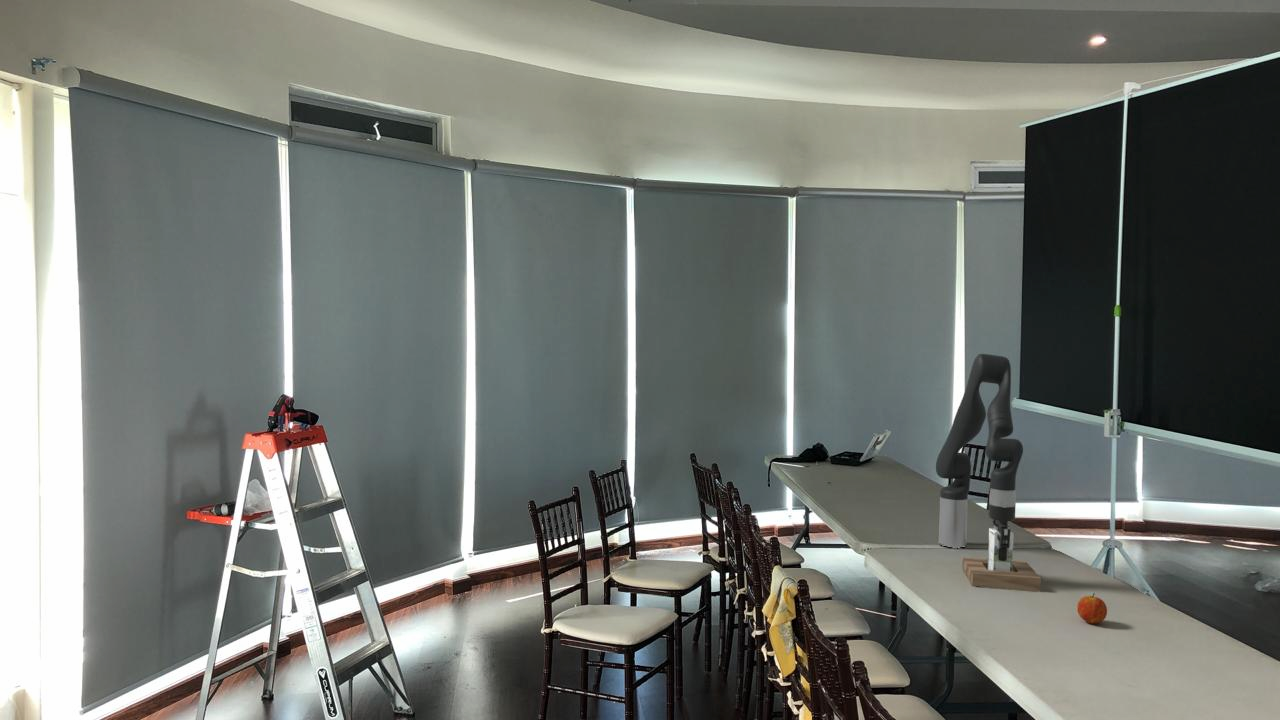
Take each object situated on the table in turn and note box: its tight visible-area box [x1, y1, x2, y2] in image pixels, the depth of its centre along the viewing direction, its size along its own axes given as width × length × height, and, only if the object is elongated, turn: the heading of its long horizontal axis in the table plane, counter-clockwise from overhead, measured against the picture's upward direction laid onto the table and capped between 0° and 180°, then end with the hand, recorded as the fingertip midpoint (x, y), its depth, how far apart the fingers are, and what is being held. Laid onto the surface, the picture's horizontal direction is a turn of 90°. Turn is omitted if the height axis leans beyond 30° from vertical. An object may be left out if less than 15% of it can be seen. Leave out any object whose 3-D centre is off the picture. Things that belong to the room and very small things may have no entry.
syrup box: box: [987, 527, 1015, 572], centre depth 269 cm, size 6×6×14 cm
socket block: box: [961, 557, 1042, 592], centre depth 269 cm, size 19×19×4 cm
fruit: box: [1076, 592, 1108, 625], centre depth 230 cm, size 7×7×8 cm
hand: (1000, 557), depth 269 cm, fingers open, 6 cm apart
